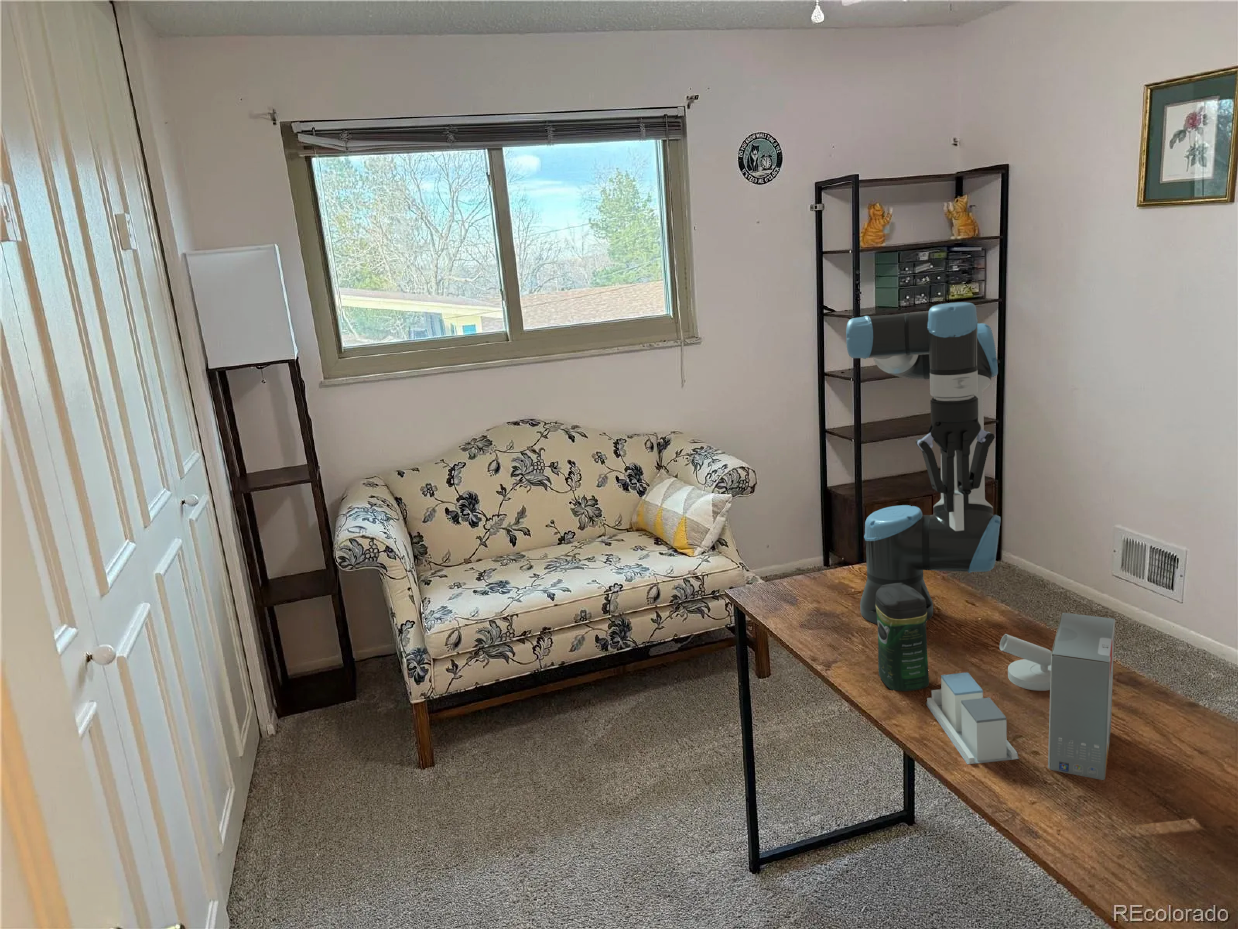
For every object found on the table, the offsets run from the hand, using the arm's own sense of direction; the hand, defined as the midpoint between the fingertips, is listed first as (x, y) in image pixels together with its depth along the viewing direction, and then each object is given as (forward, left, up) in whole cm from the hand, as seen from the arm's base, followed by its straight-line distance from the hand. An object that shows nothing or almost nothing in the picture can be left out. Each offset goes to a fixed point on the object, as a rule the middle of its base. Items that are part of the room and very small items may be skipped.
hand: (956, 528), depth 148 cm
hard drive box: (+25, +9, -30) cm, 40 cm away
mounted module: (+23, -5, -28) cm, 37 cm away
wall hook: (+4, +11, -30) cm, 32 cm away
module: (+15, -5, -28) cm, 32 cm away
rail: (+18, -5, -29) cm, 35 cm away
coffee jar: (-1, -10, -30) cm, 31 cm away
